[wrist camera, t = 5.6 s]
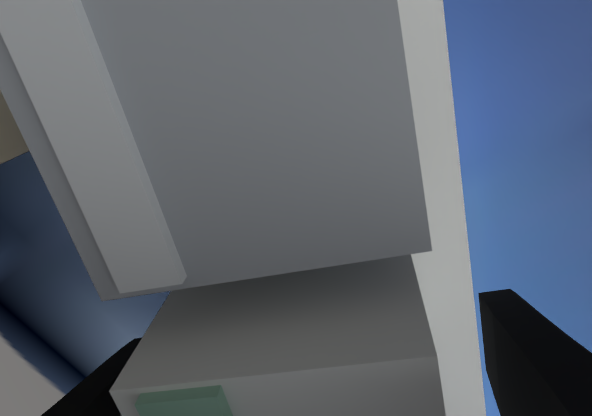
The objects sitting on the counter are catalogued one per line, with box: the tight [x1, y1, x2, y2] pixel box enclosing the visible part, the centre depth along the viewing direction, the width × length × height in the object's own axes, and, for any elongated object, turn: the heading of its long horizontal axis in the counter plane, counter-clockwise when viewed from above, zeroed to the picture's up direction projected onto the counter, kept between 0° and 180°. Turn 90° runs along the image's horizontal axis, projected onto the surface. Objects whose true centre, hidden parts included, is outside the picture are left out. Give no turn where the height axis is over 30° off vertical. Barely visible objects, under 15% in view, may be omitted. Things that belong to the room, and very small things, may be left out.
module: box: [109, 254, 446, 416], centre depth 9 cm, size 5×4×6 cm
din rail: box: [0, 0, 486, 416], centre depth 11 cm, size 22×8×6 cm, turn 14°
